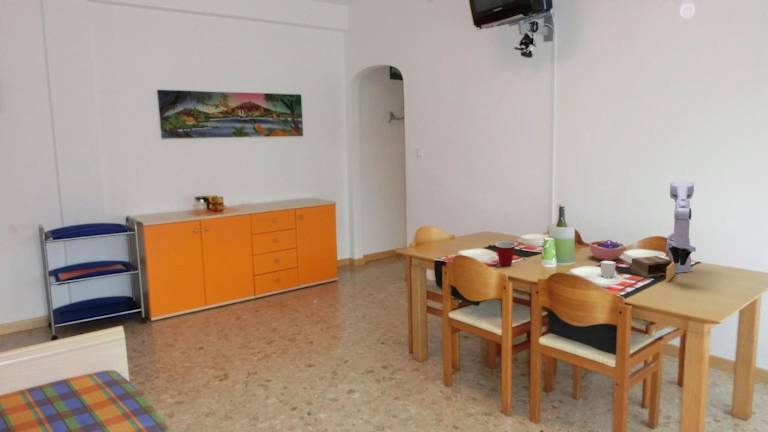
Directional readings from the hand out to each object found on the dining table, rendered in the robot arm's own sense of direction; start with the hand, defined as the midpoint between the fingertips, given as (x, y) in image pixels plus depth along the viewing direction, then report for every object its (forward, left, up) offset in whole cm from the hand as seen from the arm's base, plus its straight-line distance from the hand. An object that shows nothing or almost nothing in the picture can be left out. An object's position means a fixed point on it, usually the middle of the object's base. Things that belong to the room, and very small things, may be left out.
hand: (679, 264), depth 241 cm
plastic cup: (+56, -57, -10) cm, 81 cm away
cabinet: (-2, -19, -9) cm, 21 cm away
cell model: (0, -50, -10) cm, 51 cm away
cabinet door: (-4, -9, -9) cm, 13 cm away
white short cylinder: (+20, -22, -10) cm, 32 cm away
